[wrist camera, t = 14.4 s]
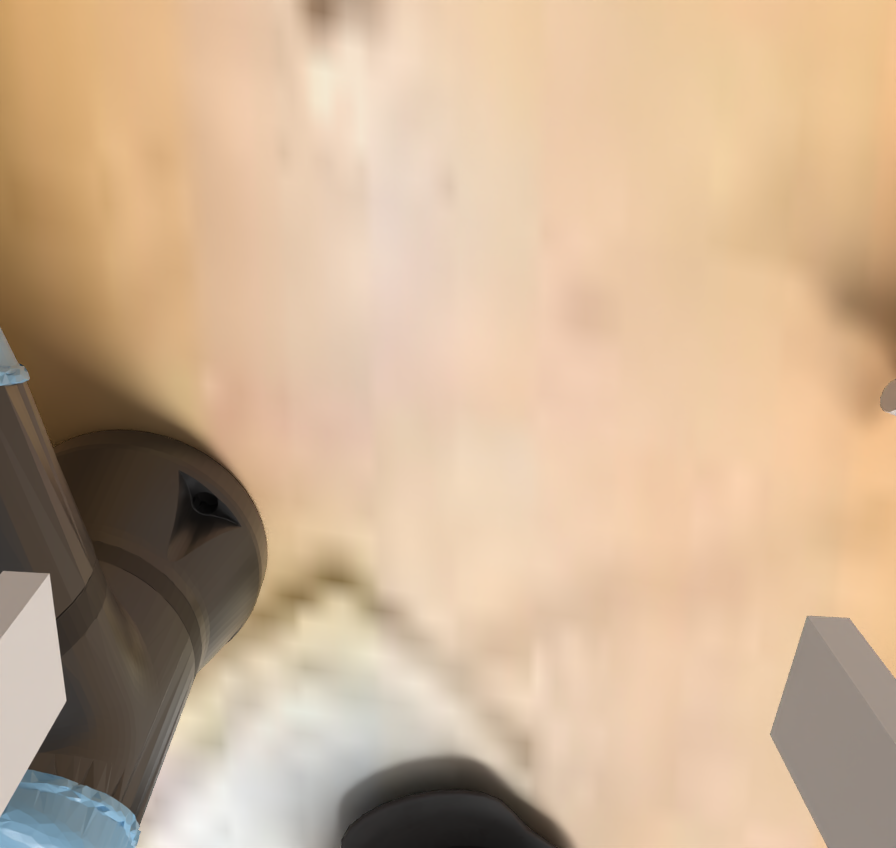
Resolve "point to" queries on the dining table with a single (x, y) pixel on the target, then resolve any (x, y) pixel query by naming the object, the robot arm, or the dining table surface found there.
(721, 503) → the dining table surface
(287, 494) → the dining table surface
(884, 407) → the pipe connector
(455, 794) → the casserole
